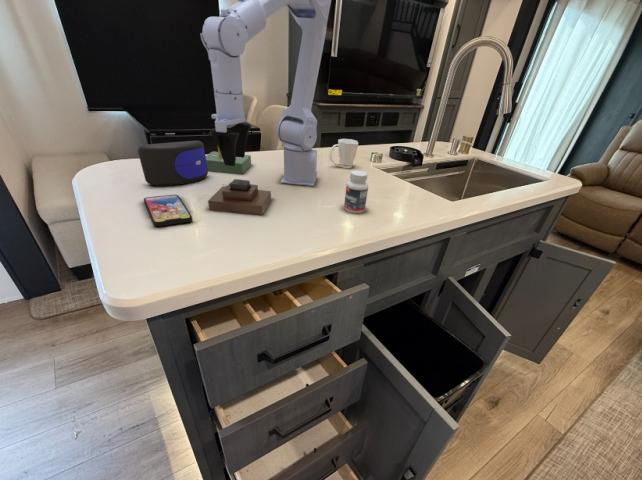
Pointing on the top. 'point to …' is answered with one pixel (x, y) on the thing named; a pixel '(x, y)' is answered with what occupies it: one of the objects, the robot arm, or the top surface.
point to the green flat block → (219, 166)
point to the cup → (345, 152)
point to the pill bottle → (356, 192)
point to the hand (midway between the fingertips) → (235, 160)
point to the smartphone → (167, 210)
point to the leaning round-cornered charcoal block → (173, 162)
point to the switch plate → (240, 200)
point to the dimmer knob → (219, 153)
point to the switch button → (240, 185)
